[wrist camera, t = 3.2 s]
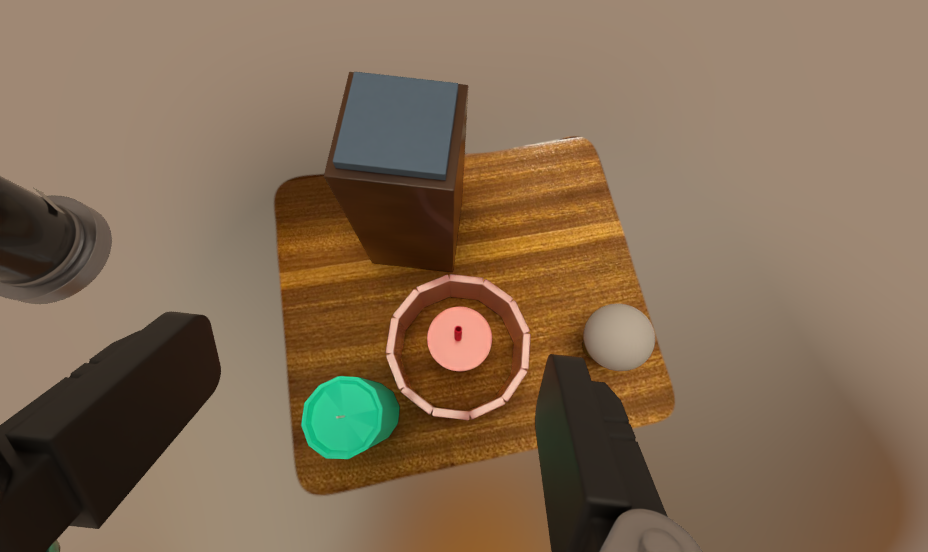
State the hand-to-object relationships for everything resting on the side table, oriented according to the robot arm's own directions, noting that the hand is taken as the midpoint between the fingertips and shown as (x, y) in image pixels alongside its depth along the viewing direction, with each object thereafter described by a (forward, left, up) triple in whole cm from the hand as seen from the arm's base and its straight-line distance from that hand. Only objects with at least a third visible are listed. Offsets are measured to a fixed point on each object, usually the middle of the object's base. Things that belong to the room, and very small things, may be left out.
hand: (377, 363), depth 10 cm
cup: (+2, +4, -33) cm, 33 cm away
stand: (-4, +17, -33) cm, 37 cm away
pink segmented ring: (+2, +4, -33) cm, 33 cm away
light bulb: (+16, +6, -33) cm, 37 cm away
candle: (-6, -3, -33) cm, 33 cm away
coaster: (-4, +17, -15) cm, 23 cm away
